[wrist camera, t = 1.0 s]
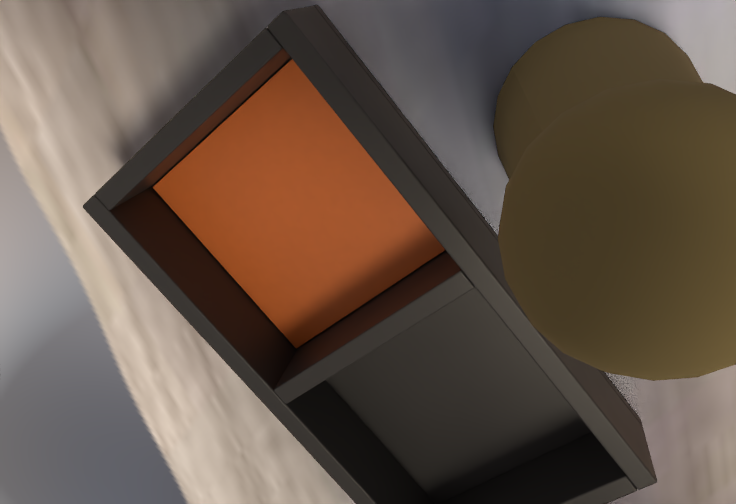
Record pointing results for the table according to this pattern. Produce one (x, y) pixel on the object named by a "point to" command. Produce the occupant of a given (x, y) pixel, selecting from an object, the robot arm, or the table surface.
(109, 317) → the table surface
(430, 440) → the divided tray
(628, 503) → the table surface
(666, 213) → the olive knobbed cylinder
